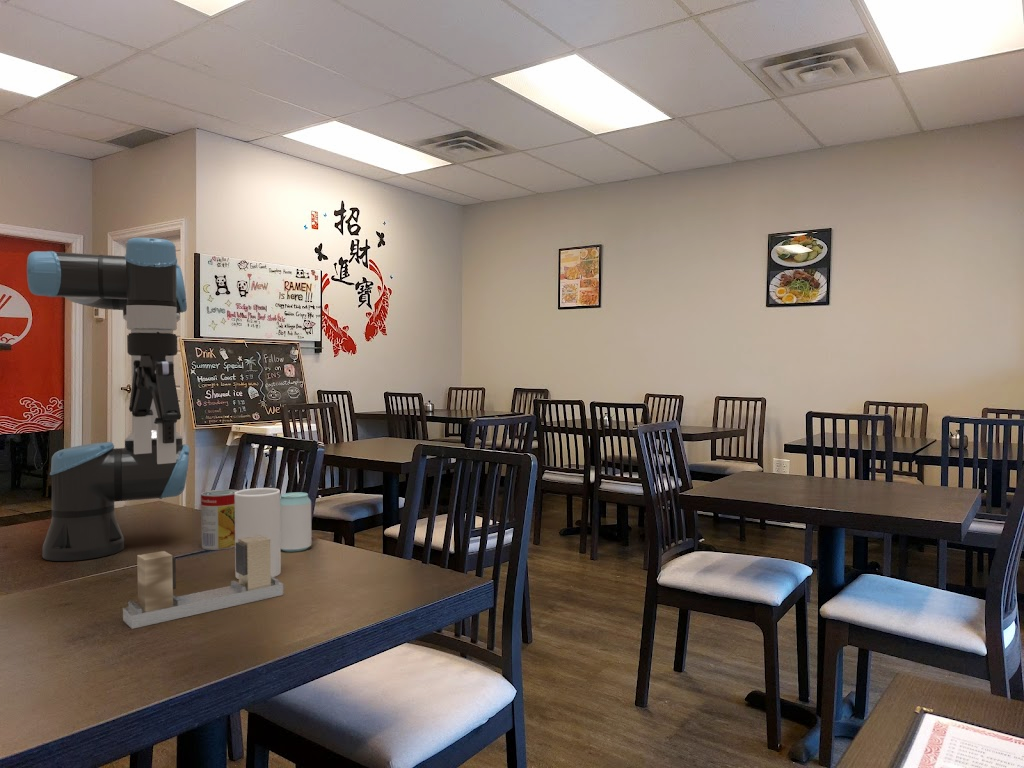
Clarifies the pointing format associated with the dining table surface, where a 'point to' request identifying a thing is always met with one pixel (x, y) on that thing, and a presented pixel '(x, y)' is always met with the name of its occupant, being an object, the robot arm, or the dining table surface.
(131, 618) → the rail
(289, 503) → the can
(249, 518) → the cup
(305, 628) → the dining table surface
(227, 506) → the canned food
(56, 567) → the dining table surface
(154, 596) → the block
